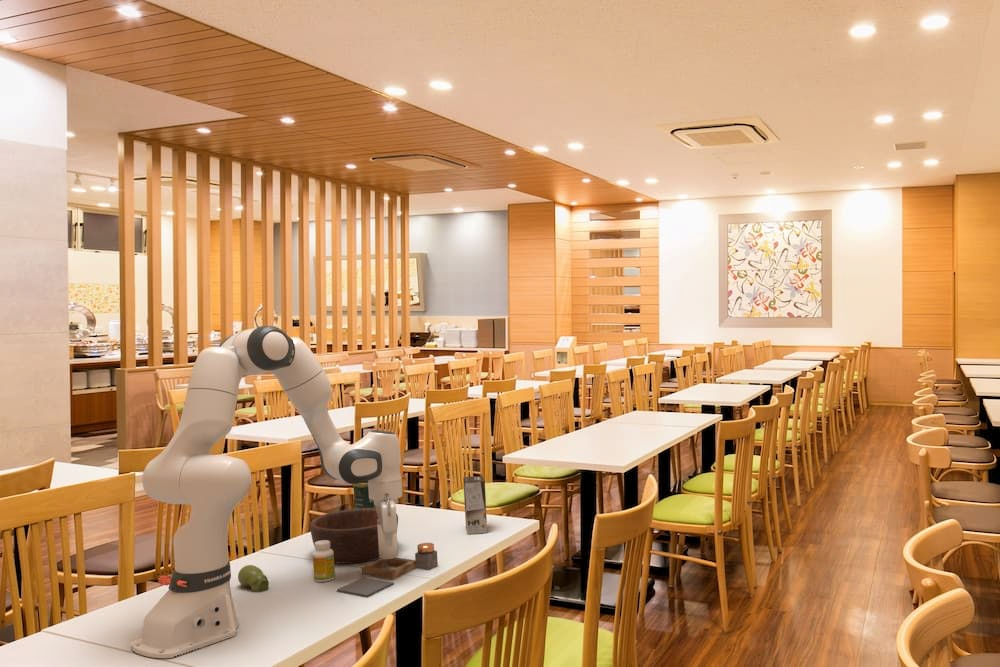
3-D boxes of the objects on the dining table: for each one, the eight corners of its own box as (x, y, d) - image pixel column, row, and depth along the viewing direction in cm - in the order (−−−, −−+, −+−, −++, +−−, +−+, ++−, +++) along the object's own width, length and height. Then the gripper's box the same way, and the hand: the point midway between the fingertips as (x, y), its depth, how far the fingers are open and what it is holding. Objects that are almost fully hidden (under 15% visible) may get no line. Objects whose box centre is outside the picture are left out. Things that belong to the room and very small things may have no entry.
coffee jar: (365, 531, 257) (362, 473, 257) (349, 527, 262) (346, 470, 262) (388, 524, 265) (385, 467, 264) (372, 521, 270) (369, 465, 269)
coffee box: (488, 533, 248) (485, 481, 247) (467, 534, 247) (464, 482, 247) (485, 525, 257) (482, 475, 256) (465, 527, 256) (462, 476, 256)
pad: (367, 597, 195) (367, 595, 195) (336, 591, 201) (336, 589, 201) (393, 584, 204) (393, 582, 204) (363, 579, 209) (363, 577, 209)
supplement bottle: (329, 582, 208) (327, 545, 208) (310, 582, 209) (308, 545, 209) (338, 575, 213) (336, 539, 213) (319, 575, 214) (317, 539, 214)
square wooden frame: (404, 581, 206) (403, 566, 206) (361, 574, 213) (360, 559, 213) (437, 565, 218) (436, 550, 218) (396, 559, 225) (395, 544, 225)
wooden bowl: (297, 567, 223) (294, 530, 223) (331, 541, 248) (329, 507, 247) (383, 567, 219) (381, 530, 218) (410, 541, 243) (408, 507, 243)
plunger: (428, 566, 214) (427, 548, 214) (415, 564, 216) (414, 546, 216) (438, 562, 218) (437, 543, 218) (425, 560, 220) (424, 542, 220)
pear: (253, 560, 212) (275, 572, 206) (252, 579, 213) (274, 592, 206) (234, 565, 208) (255, 578, 202) (233, 585, 209) (254, 599, 202)
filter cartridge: (390, 560, 211) (388, 521, 211) (375, 557, 214) (373, 520, 213) (402, 554, 215) (399, 517, 215) (387, 552, 218) (385, 515, 218)
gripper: (401, 497, 205) (403, 552, 205) (393, 482, 225) (396, 532, 225) (376, 499, 203) (378, 554, 204) (370, 484, 223) (373, 534, 224)
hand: (387, 542), depth 214 cm, fingers closed on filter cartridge, 5 cm apart
